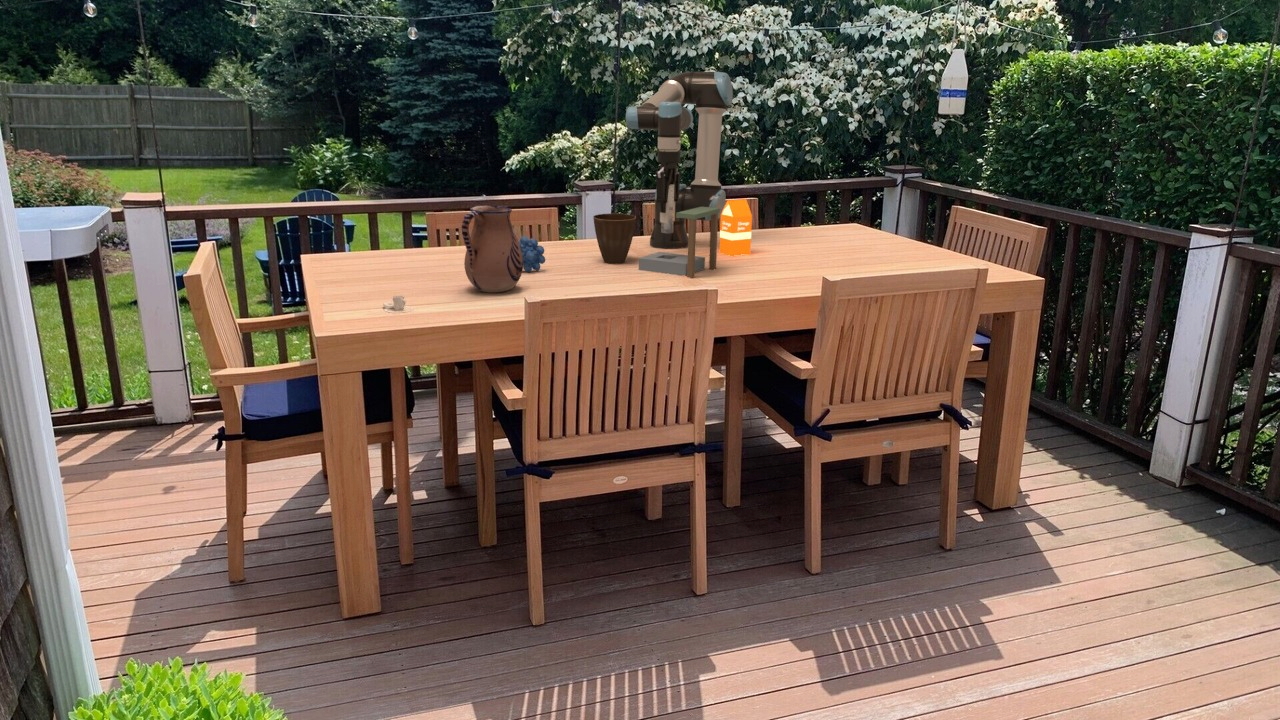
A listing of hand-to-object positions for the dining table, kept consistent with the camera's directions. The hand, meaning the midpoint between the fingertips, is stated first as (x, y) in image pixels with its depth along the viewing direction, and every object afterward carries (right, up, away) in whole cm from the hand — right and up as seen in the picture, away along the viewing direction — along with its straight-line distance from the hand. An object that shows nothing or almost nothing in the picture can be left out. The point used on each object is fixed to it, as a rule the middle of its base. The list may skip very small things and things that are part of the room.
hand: (667, 221), depth 310 cm
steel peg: (0, -4, +1) cm, 4 cm away
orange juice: (+26, -7, +33) cm, 42 cm away
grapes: (-46, -18, -4) cm, 50 cm away
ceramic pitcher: (-54, -26, -30) cm, 67 cm away
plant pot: (-18, -12, +15) cm, 27 cm away
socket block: (+2, -16, +4) cm, 16 cm away
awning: (+10, -17, -1) cm, 20 cm away
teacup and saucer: (-76, -32, -50) cm, 97 cm away
